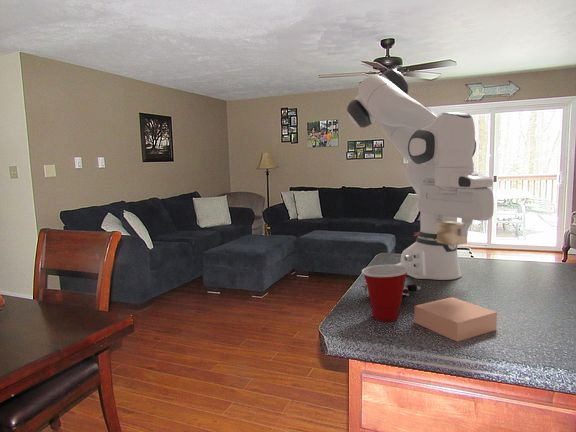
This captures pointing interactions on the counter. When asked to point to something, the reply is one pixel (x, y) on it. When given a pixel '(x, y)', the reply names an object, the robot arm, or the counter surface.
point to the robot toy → (405, 291)
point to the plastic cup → (385, 290)
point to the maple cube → (450, 233)
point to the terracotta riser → (455, 318)
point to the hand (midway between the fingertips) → (451, 234)
